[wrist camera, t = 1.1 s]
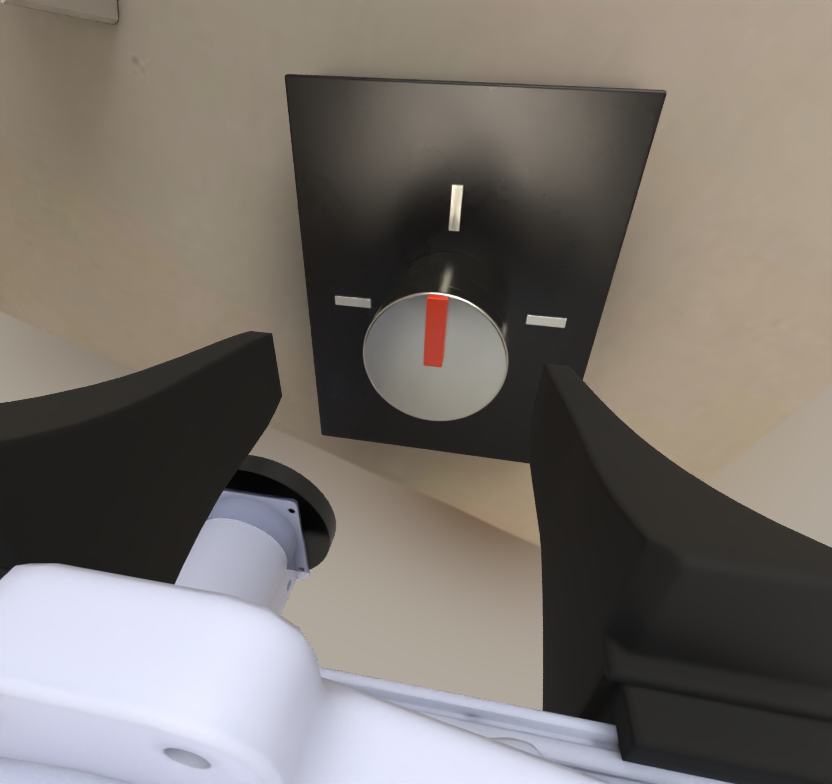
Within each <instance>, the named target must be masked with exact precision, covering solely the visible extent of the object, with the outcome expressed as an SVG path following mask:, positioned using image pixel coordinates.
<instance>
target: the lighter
mask: <svg viewBox="0 0 832 784" xmlns="http://www.w3.org/2000/svg"><path fill="white" fill-rule="evenodd" d="M0 2H2V3H5V4H10V5H16V6H21V7H26V8H32V9H37V10H42V11H47V12H53V13H58V14H63V15H69V16H74V17H79V18H85V19H90V20H95V21H100V22H106V23H111V24H115V23H116V22H117V21H118V9H117V0H0Z"/></svg>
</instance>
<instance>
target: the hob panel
mask: <svg viewBox="0 0 832 784" xmlns="http://www.w3.org/2000/svg"><path fill="white" fill-rule="evenodd" d="M285 84H286V93H287V103H288V113H289V123H290V132H291V142H292V152H293V161H294V171H295V181H296V191H297V200H298V210H299V220H300V229H301V239H302V249H303V258H304V268H305V278H306V288H307V297H308V307H309V317H310V326H311V336H312V346H313V356H314V365H315V375H316V385H317V394H318V404H319V414H320V423H321V433H322V435H326V436H333V437H341V438H348V439H355V440H362V441H370V442H377V443H384V444H392V445H399V446H406V447H414V448H421V449H428V450H435V451H443V452H450V453H457V454H465V455H472V456H479V457H486V458H494V459H501V460H508V461H516V462H523V463H530V461H529V427H530V422H531V418H532V413H533V409H534V405H535V400H536V396H537V391H538V387H539V382H540V378H541V373H542V369H543V365H544V363H548V364H557V365H566V366H570V367H571V368H572V369H573V370H574V371H575V373H576V374H577V375H578V376H579V377H580V378H581V379H582V380H583V377H584V374H585V370H586V367H587V363H588V360H589V357H590V353H591V350H592V346H593V343H594V340H595V336H596V333H597V329H598V326H599V323H600V319H601V316H602V312H603V309H604V305H605V302H606V299H607V295H608V292H609V288H610V285H611V282H612V278H613V275H614V271H615V268H616V265H617V261H618V258H619V254H620V251H621V247H622V244H623V241H624V237H625V234H626V230H627V227H628V224H629V220H630V217H631V213H632V210H633V207H634V203H635V200H636V196H637V193H638V189H639V186H640V183H641V179H642V176H643V172H644V169H645V166H646V162H647V159H648V155H649V152H650V149H651V145H652V142H653V138H654V135H655V131H656V128H657V125H658V121H659V118H660V114H661V111H662V108H663V104H664V101H665V97H666V91H665V90H648V89H624V88H601V87H577V86H554V85H531V84H507V83H484V82H460V81H437V80H414V79H390V78H367V77H343V76H320V75H296V74H287V75H285ZM437 252H456V253H462V254H465V255H468V256H471V257H473V258H475V259H477V260H479V261H480V262H482V263H484V264H485V265H486V266H487V267H488V268H490V269H491V271H492V272H493V273H494V274H495V275H496V276H497V278H498V279H499V281H500V282H501V284H502V286H503V289H504V291H505V294H506V299H507V308H508V348H509V365H508V372H507V376H506V379H505V382H504V384H503V386H502V388H501V389H500V391H499V393H498V394H497V395H496V396H495V398H494V399H493V400H492V401H491V402H490V403H489V404H488V405H486V406H485V407H484V408H482V409H481V410H479V411H478V412H476V413H474V414H472V415H469V416H467V417H464V418H460V419H456V420H450V421H430V420H424V419H420V418H416V417H413V416H410V415H408V414H406V413H404V412H402V411H400V410H398V409H396V408H395V407H393V406H392V405H390V404H389V403H388V402H387V401H386V400H385V399H383V397H382V396H381V395H380V394H379V393H378V392H377V391H376V389H375V388H374V386H373V385H372V383H371V381H370V379H369V377H368V375H367V372H366V369H365V365H364V360H363V343H364V338H365V335H366V332H367V329H368V327H369V325H370V324H371V322H372V320H373V318H374V317H375V315H376V313H377V311H378V310H379V308H380V306H381V305H382V303H383V301H384V299H385V298H386V296H387V294H388V293H389V291H390V289H391V288H392V286H393V284H394V282H395V281H396V279H397V277H398V276H399V275H400V273H401V272H402V271H403V270H404V269H405V268H406V267H407V266H408V265H409V264H411V263H412V262H413V261H415V260H417V259H419V258H420V257H423V256H425V255H428V254H432V253H437Z"/></svg>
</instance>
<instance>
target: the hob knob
mask: <svg viewBox="0 0 832 784" xmlns="http://www.w3.org/2000/svg"><path fill="white" fill-rule="evenodd" d="M363 360H364V365H365V369H366V372H367V375H368V377H369V379H370V381H371V383H372V385H373V386H374V388H375V389H376V391H377V392H378V393H379V394H380V395H381V396H382V397H383V399H385V400H386V401H387V402H388V403H389V404H390V405H392V406H393V407H395V408H396V409H398V410H400V411H402V412H404V413H406V414H408V415H410V416H413V417H416V418H420V419H424V420H430V421H450V420H456V419H460V418H464V417H467V416H469V415H472V414H474V413H476V412H478V411H479V410H481V409H482V408H484V407H485V406H486V405H488V404H489V403H490V402H491V401H492V400H493V399H494V398H495V396H496V395H497V394H498V393H499V391H500V389H501V388H502V386H503V384H504V382H505V379H506V376H507V372H508V365H509V348H508V308H507V299H506V294H505V291H504V289H503V286H502V284H501V282H500V281H499V279H498V278H497V276H496V275H495V274H494V273H493V272H492V271H491V269H490V268H488V267H487V266H486V265H485V264H484V263H482V262H480V261H479V260H477V259H475V258H473V257H471V256H468V255H465V254H462V253H456V252H437V253H432V254H428V255H425V256H423V257H420V258H419V259H417V260H415V261H413V262H412V263H411V264H409V265H408V266H407V267H406V268H405V269H404V270H403V271H402V272H401V273H400V275H399V276H398V277H397V279H396V281H395V282H394V284H393V286H392V288H391V289H390V291H389V293H388V294H387V296H386V298H385V299H384V301H383V303H382V305H381V306H380V308H379V310H378V311H377V313H376V315H375V317H374V318H373V320H372V322H371V324H370V325H369V327H368V329H367V332H366V335H365V338H364V343H363Z"/></svg>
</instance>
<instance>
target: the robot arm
mask: <svg viewBox="0 0 832 784" xmlns="http://www.w3.org/2000/svg"><path fill="white" fill-rule="evenodd" d="M281 398H282V392H281V386H280V380H279V374H278V368H277V361H276V355H275V349H274V343H273V337H272V333H263V332H254V331H249V332H245V333H242V334H238V335H235V336H233V337H230V338H227V339H224V340H222V341H219V342H217V343H214V344H211V345H209V346H206V347H204V348H201V349H199V350H196V351H194V352H191V353H189V354H186V355H184V356H181V357H178V358H176V359H173V360H170V361H167V362H164V363H162V364H159V365H156V366H153V367H151V368H148V369H145V370H142V371H139V372H136V373H133V374H130V375H127V376H124V377H120V378H116V379H113V380H109V381H106V382H102V383H99V384H95V385H91V386H87V387H82V388H78V389H73V390H68V391H64V392H59V393H55V394H50V395H45V396H41V397H35V398H29V399H23V400H18V401H12V402H5V403H0V784H832V548H831V547H829V546H827V545H825V544H822V543H820V542H817V541H816V540H814V539H811V538H809V537H807V536H805V535H803V534H801V533H798V532H796V531H794V530H792V529H790V528H787V527H785V526H783V525H781V524H778V523H777V522H775V521H773V520H771V519H769V518H767V517H765V516H763V515H761V514H759V513H757V512H755V511H753V510H751V509H750V508H748V507H746V506H744V505H742V504H740V503H738V502H736V501H735V500H733V499H731V498H729V497H728V496H726V495H724V494H722V493H721V492H719V491H717V490H716V489H714V488H712V487H711V486H709V485H707V484H706V483H704V482H703V481H701V480H700V479H698V478H696V477H695V476H693V475H692V474H690V473H688V472H687V471H685V470H684V469H682V468H681V467H679V466H678V465H677V464H675V463H674V462H672V461H671V460H669V459H668V458H667V457H665V456H664V455H663V454H661V453H660V452H659V451H657V450H656V449H655V448H653V447H652V446H651V445H649V444H648V443H647V442H646V441H645V440H643V439H642V438H641V437H640V436H638V435H637V434H636V433H635V432H634V431H633V430H632V429H631V428H629V427H628V426H627V425H626V424H625V423H624V422H623V421H622V420H620V419H619V418H618V417H617V416H616V415H615V414H614V413H613V412H612V411H611V410H610V409H609V408H608V407H607V406H606V405H605V404H604V403H603V402H602V401H601V400H600V399H599V398H598V397H597V395H596V394H595V393H594V392H593V391H592V390H591V389H590V388H589V387H588V386H587V385H586V384H585V382H584V381H583V380H582V379H581V378H580V377H579V376H578V375H577V374H576V373H575V371H574V370H573V369H572V368H571V367H570V366H566V365H557V364H548V363H544V365H543V369H542V373H541V378H540V382H539V387H538V391H537V396H536V400H535V405H534V409H533V413H532V418H531V422H530V427H529V461H530V469H531V476H532V483H533V490H534V497H535V504H536V511H537V518H538V525H539V532H540V542H541V556H542V557H541V558H542V589H543V590H542V591H543V711H541V710H536V709H531V708H526V707H521V706H516V705H511V704H505V703H500V702H495V701H490V700H485V699H480V698H475V697H470V696H465V695H460V694H454V693H449V692H444V691H440V690H435V689H430V688H424V687H419V686H414V685H409V684H404V683H399V682H393V681H389V680H383V679H379V678H374V677H369V676H364V675H358V674H353V673H348V672H343V671H338V670H332V669H328V668H323V667H319V663H318V659H317V657H316V655H315V653H314V651H313V649H312V647H311V646H310V644H309V642H308V641H307V639H306V638H305V636H304V634H303V633H302V631H301V630H300V628H299V627H297V626H296V625H294V624H293V623H291V622H290V621H288V620H287V619H285V618H284V617H282V616H281V614H282V611H283V609H284V607H285V604H286V602H287V600H288V598H289V595H290V593H291V591H292V588H293V586H294V584H295V581H296V579H301V580H307V579H308V578H309V576H310V571H309V565H308V558H307V552H306V546H305V539H304V533H303V527H302V520H301V514H300V508H299V503H298V501H297V500H295V499H293V498H288V497H282V496H275V495H269V494H262V493H256V492H249V491H243V490H236V489H230V488H225V487H226V485H227V484H228V483H229V481H230V480H231V478H232V477H233V475H234V474H235V473H236V471H237V470H238V468H239V467H240V465H241V464H242V463H243V461H244V460H245V458H246V457H247V455H248V454H249V453H250V451H251V450H252V448H253V447H254V445H255V444H256V442H257V441H258V440H259V438H260V437H261V435H262V434H263V432H264V431H265V429H266V428H267V426H268V425H269V423H270V421H271V419H272V417H273V415H274V413H275V411H276V409H277V406H278V404H279V402H280V400H281Z"/></svg>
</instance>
